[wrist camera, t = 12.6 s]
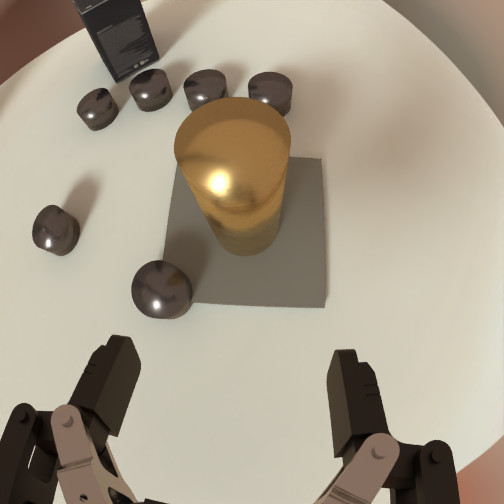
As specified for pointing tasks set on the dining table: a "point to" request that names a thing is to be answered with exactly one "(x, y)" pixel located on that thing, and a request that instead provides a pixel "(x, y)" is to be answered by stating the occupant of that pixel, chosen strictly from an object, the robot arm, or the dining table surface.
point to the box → (119, 34)
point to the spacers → (150, 99)
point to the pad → (263, 264)
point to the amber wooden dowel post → (236, 169)
